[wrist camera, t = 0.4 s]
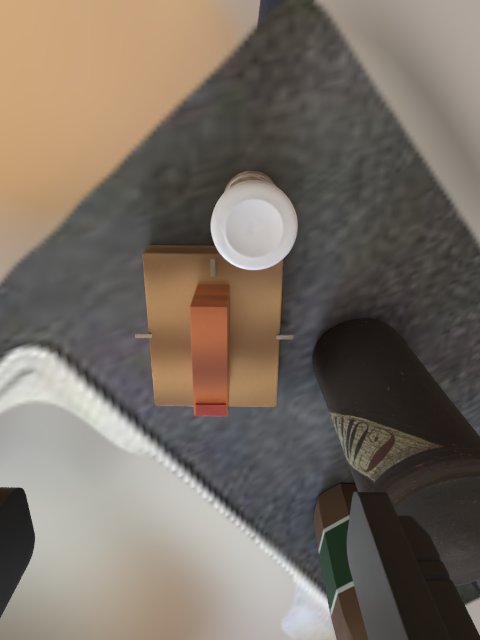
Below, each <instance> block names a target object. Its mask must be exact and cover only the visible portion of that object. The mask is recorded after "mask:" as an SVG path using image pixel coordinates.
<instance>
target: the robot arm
mask: <svg viewBox="0 0 480 640" xmlns="http://www.w3.org/2000/svg"><path fill="white" fill-rule="evenodd" d="M34 542H35V534H34V529H33V524H32V520H31V516H30V511H29V507H28V503H27V498H26V494H25V492H24V490H23V489H22V488H7V487H1V488H0V617H1V615H2V613H3V612H4V610H5V608H6V606H7V604H8V602H9V600H10V598H11V596H12V594H13V592H14V591H15V589H16V587H17V585H18V583H19V581H20V579H21V577H22V575H23V573H24V571H25V570H26V568H27V566H28V564H29V561H30V559H31V557H32V553H33V549H34ZM347 556H348V563H349V567H350V571H351V575H352V579H353V583H354V587H355V590H356V594H357V598H358V602H359V606H360V609H361V613H362V617H363V621H364V625H365V629H366V632H367V636H368V640H480V635H479V633H478V631H477V629H476V627H475V625H474V623H473V621H472V619H471V617H470V615H469V614H468V611H467V609H466V607H465V605H464V603H463V601H462V599H461V597H460V595H459V593H458V591H457V589H456V587H455V585H454V583H453V581H452V580H450V575H449V573H448V571H447V569H446V567H445V565H444V563H443V561H441V559H440V555H439V553H438V551H437V549H436V547H435V545H434V543H433V541H432V539H431V537H430V535H429V534H428V533H427V532H426V531H425V529H424V528H423V527H422V526H421V525H420V524H419V523H418V522H417V521H416V520H415V519H414V518H413V517H412V516H397V513H396V511H395V509H394V506H393V504H392V502H391V499H390V497H389V495H388V494H387V493H386V492H354V493H353V496H352V503H351V510H350V517H349V525H348V532H347Z"/></svg>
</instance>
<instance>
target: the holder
mask: <svg viewBox="0 0 480 640" xmlns="http://www.w3.org/2000/svg"><path fill="white" fill-rule="evenodd" d="M190 325H191V350H192V374H193V398H194V416H228V407H229V389H230V286H229V285H197V287H196V290H195V293H194V296H193V299H192V302H191V305H190Z"/></svg>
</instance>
